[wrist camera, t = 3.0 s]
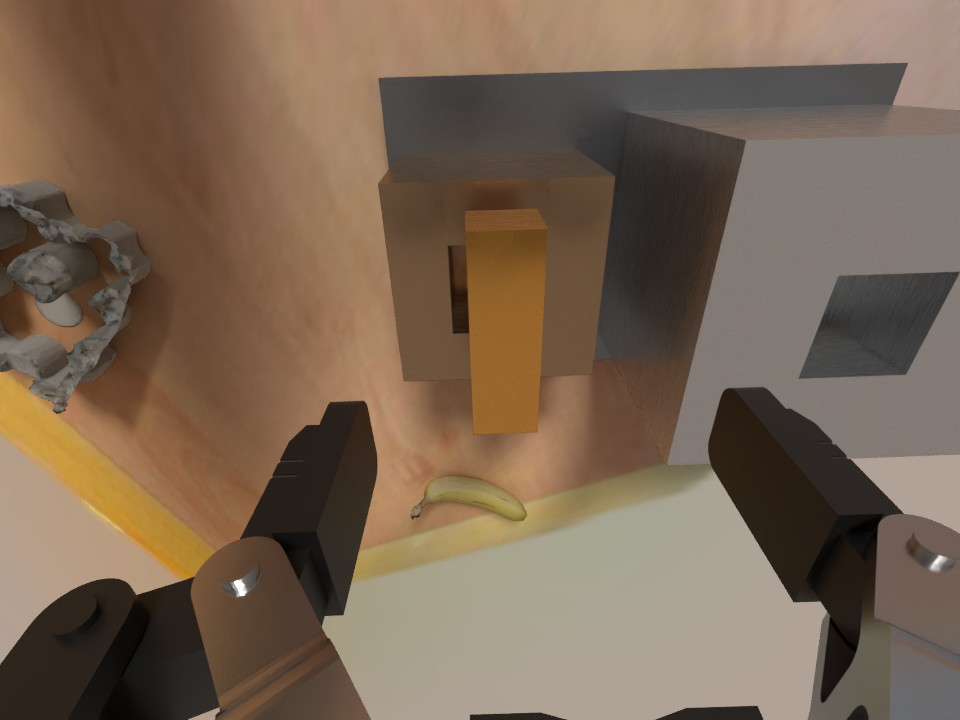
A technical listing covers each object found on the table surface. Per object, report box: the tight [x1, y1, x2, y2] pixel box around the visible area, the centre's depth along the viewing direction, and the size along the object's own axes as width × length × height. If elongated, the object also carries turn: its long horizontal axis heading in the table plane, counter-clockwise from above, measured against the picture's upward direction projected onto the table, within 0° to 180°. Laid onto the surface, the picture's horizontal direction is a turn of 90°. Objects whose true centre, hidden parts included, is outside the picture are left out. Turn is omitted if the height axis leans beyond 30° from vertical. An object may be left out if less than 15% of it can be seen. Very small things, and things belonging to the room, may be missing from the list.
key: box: [465, 209, 548, 435], centre depth 18 cm, size 7×2×8 cm, turn 1°
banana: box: [411, 476, 527, 521], centre depth 32 cm, size 8×2×4 cm, turn 71°
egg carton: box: [0, 178, 152, 414], centre depth 24 cm, size 11×8×4 cm
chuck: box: [378, 63, 960, 466], centre depth 20 cm, size 22×14×12 cm, turn 91°
